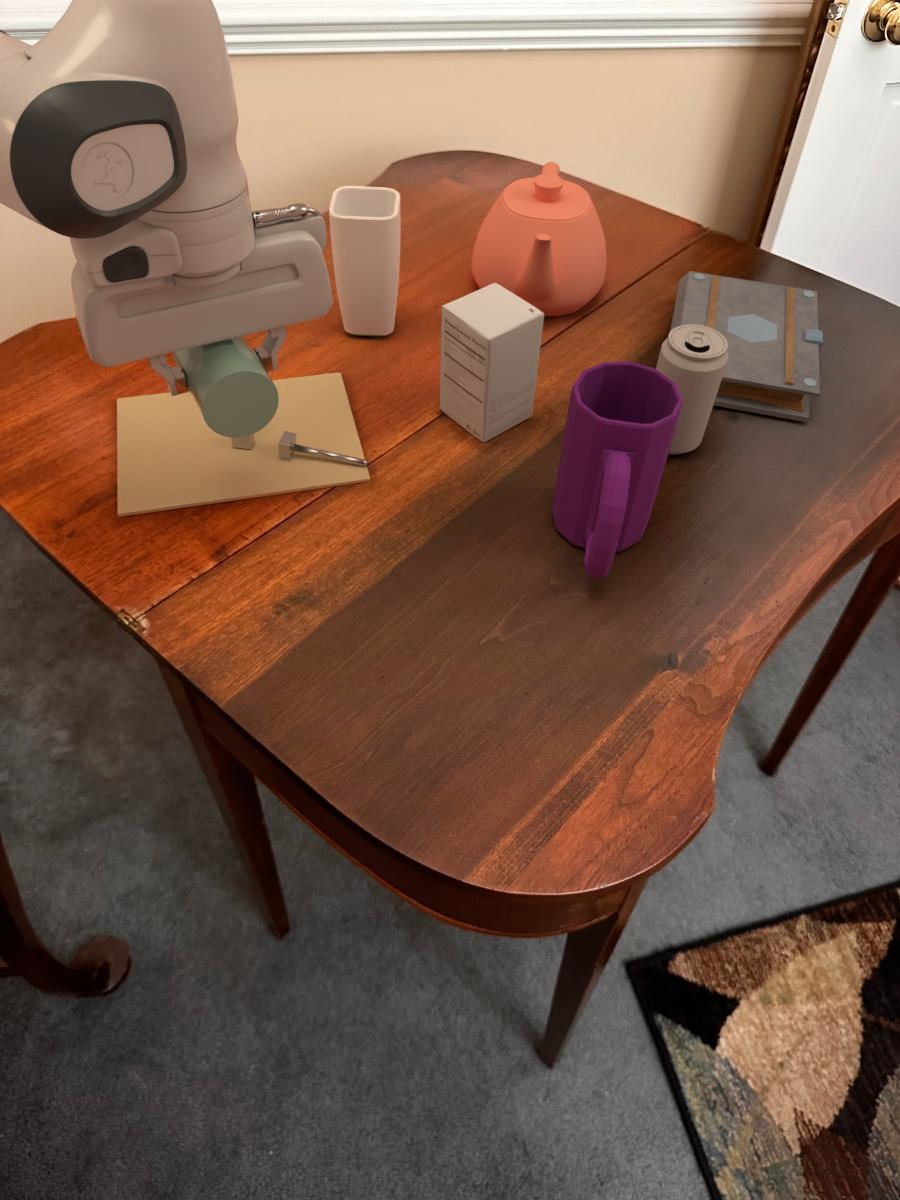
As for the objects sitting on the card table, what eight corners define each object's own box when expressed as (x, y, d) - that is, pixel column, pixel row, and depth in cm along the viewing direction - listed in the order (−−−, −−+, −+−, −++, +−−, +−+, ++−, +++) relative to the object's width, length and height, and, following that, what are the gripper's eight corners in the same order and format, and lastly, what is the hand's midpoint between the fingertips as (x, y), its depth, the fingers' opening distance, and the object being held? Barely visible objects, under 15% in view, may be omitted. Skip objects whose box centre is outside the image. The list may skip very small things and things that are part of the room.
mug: (647, 495, 86) (683, 366, 74) (643, 615, 76) (684, 488, 64) (555, 483, 87) (576, 353, 75) (539, 600, 77) (561, 471, 65)
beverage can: (636, 452, 90) (661, 352, 81) (642, 415, 94) (667, 316, 85) (698, 463, 89) (731, 364, 80) (701, 425, 93) (733, 326, 84)
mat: (118, 517, 82) (117, 514, 81) (117, 401, 93) (116, 398, 92) (370, 481, 86) (370, 478, 86) (340, 374, 97) (340, 371, 97)
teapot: (600, 352, 101) (621, 242, 91) (458, 338, 102) (463, 227, 92) (603, 247, 117) (621, 143, 107) (480, 235, 118) (486, 131, 108)
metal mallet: (365, 478, 87) (278, 458, 87) (370, 465, 88) (285, 445, 88) (365, 462, 85) (278, 443, 85) (371, 450, 86) (284, 430, 87)
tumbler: (189, 392, 69) (159, 334, 74) (220, 449, 74) (190, 391, 79) (263, 358, 70) (229, 302, 75) (288, 417, 75) (255, 362, 80)
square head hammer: (259, 384, 93) (229, 430, 86) (277, 387, 92) (249, 433, 86) (261, 400, 94) (232, 447, 88) (279, 403, 94) (251, 450, 88)
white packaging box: (488, 384, 97) (496, 279, 87) (533, 418, 93) (547, 312, 83) (436, 409, 94) (439, 303, 84) (481, 445, 90) (490, 338, 80)
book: (674, 300, 109) (683, 263, 106) (808, 322, 107) (823, 285, 103) (657, 398, 96) (667, 359, 92) (810, 426, 94) (827, 387, 90)
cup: (398, 344, 101) (397, 219, 90) (336, 341, 101) (326, 216, 90) (402, 310, 106) (401, 187, 95) (342, 307, 106) (334, 184, 94)
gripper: (309, 182, 70) (322, 333, 81) (45, 230, 63) (97, 388, 74) (338, 216, 66) (348, 370, 77) (62, 271, 60) (114, 430, 70)
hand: (223, 379), depth 75 cm, fingers closed on tumbler, 6 cm apart
